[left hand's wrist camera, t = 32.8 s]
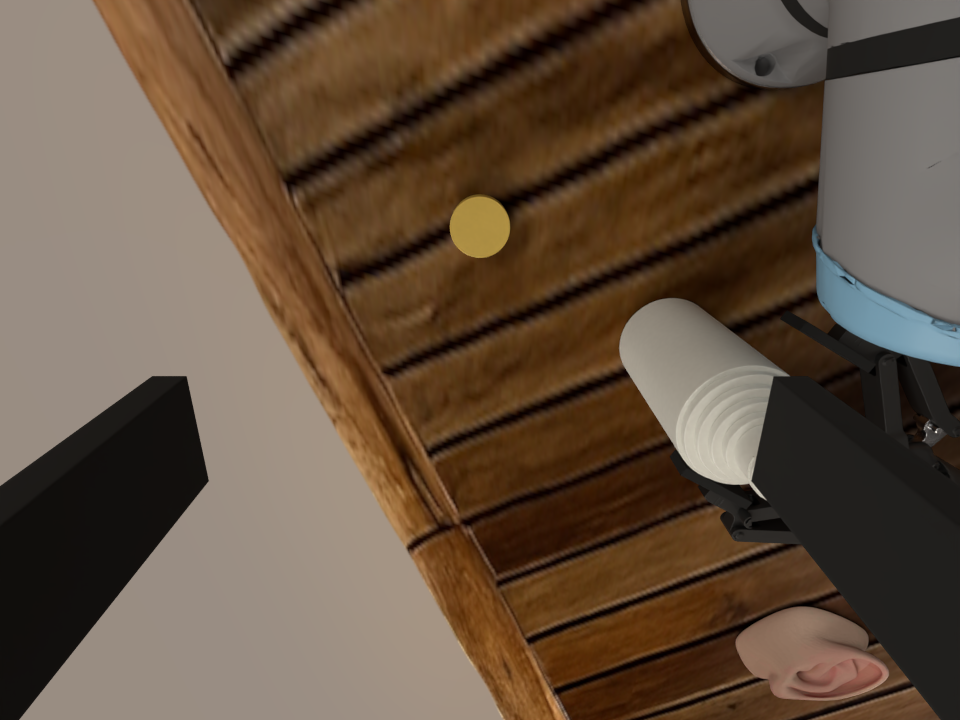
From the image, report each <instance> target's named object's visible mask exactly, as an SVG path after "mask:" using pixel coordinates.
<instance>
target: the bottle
mask: <svg viewBox="0 0 960 720" xmlns="http://www.w3.org/2000/svg"><path fill="white" fill-rule="evenodd" d="M619 348H620V356H621V360H622V363H623V365H624V367H625V368H626V370H627V372H628V373H629V375H630V376H631V378H632V379H633V381H634V383H635V384H636V386H637V387H638V389H639V391H640V392H641V394H642V395H643V397H644V398H645V400H646V402H647V403H648V405H649V406H650V408H651V409H652V411H653V413H654V414H655V416H656V417H657V419H658V420H659V422H660V424H661V425H662V427H663V428H664V430H665V431H666V433H667V435H668V436H669V438H670V439H671V441H672V442H673V444H674V446H675V447H676V449H677V450H678V452H679V454H680V455H681V457H682V458H683V460H684V461H685V462H686V464H687V465H688V466H689V467H690V468H692V469H693V470H694V471H695V472H697V473H698V474H700V475H702V476H704V477H706V478H709V479H711V480H714V481H717V482H720V483H725V484H733V485H739V484H750V485H751V487H752V488H753V489H754V491H755V492H756V493H757V494H758V495H759V496H760V497H762V498H764V496H763V495H762V494H761V493H760V491H759V490H758V489H757V488H756V486H755V485H754V484H753V483H752V481H751V480H752V475H753V470H754V466H755V461H756V456H757V452H758V447H759V442H760V437H761V433H762V428H763V423H764V419H765V414H766V409H767V405H768V400H769V395H770V390H771V386H772V381H773V376H789V375H788V374H787V373H785V372H784V371H783V370H782V369H780V368H779V367H778V366H776V365H775V364H774V363H772V362H771V361H770V360H768V359H767V358H766V357H765V356H763V355H762V354H761V353H759V352H758V351H757V350H755V349H754V348H753V347H751V346H750V345H749V344H747V343H746V342H745V341H744V340H742V339H741V338H740V337H738V336H737V335H736V334H734V333H733V332H732V331H730V330H729V329H728V328H727V327H725V326H724V325H723V324H721V323H720V322H719V321H717V320H716V319H715V318H713V317H712V316H711V315H709V314H708V313H707V312H706V311H704V310H703V309H702V308H700V307H699V306H698V305H696V304H694V303H693V302H690V301H687V300H684V299H678V298H667V299H661V300H657V301H654V302H652V303H649V304H648V305H646V306H644V307H643V308H641V309H640V310H638V311H637V312H636V313H635V314H634V315H633V316H632V317H631V318H630V320H629V321H628V323H627V324H626V326H625V328H624V330H623V332H622V335H621V339H620V347H619ZM764 499H765V498H764ZM765 500H766V499H765Z"/></svg>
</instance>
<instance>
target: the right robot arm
mask: <svg viewBox="0 0 960 720" xmlns="http://www.w3.org/2000/svg"><path fill="white" fill-rule="evenodd" d="M781 320H783V321H784V322H786V323H788V324H789V325H791V326H792V327H794V328H796V329H797V330H799V331H801V332H802V333H804V334H805V335H807V336H809V337H810V338H812V339H814V340H815V341H817V342H819V343H820V344H822V345H823V346H825V347H827V348H828V349H830V350H832V351H833V352H835V353H837V354H838V355H840V356H841V357H843V358H845V359H846V360H848V361H850V362H851V363H853V364H855V365H856V366H858V367H860V375H861V384H862V392H863V400H864V408H865V416H866V419H868V420H869V421H870V422H872V423H873V424H874V425H876V426H877V427H879V428H880V429H881V430H883V431H884V432H886V433H887V434H888V435H890V436H891V437H892V438H894V439H895V440H897V441H898V442H899V443H901V444H902V445H904V446H905V447H906V448H908V449H909V450H910V451H912V452H913V453H915V454H916V455H917V456H919V457H920V458H922V459H923V460H924V461H926V462H927V463H928V464H930V465H931V466H933V467H934V468H935V469H937V470H938V471H940V472H941V473H942V474H944V475H945V476H946V477H948V478H949V479H951V480H952V481H953V482H955V483H956V484H957V485H959V486H960V470H959V469H957V468H955V467H954V466H952V465H950V464H949V463H947V462H945V461H944V460H942V459H940V458H939V457H937V456H935V455H934V454H933V451H932V449H931V447H932V446H933V445H935V444H936V443H937V442H938V441H939V440H941V439H942V438H943V437H944V436H945V435H946V434H948V435H949V436H951V437H959V436H960V421H959V420H958V419H956V418H955V417H954V416H953V415H952V414H950V412H949V409H948V407H947V404H946V402H945V399H944V397H943V394H942V392H941V389H940V387H939V384H938V382H937V379H936V377H935V374H934V372H933V369H932V367H931V364H930V362H929V361H927V360H923V359H919V358H914V357H911V356H908V355H904V354H901V353H898V352H894V351H892V350H889V349H886V348H883V347H880V346H878V345H875V344H873V343H870V342H868V341H866V340H864V339H862V338H860V337H858V336H856V335H854V334H853V333H851V332H849V331H848V330H846V329H845V328H843V327H842V326H841V325H839V324H835V326H834V327H833V328H832V329H831V330H830V331H829V333H828V334H826V333H824V332H823V331H821V330H820V329H818V328H816V327H815V326H813V325H812V324H810V323H808V322H807V321H805V320H803V319H801V318H799V317H798V316H796V315H794V314H792V313H790V312H789V311H786V312H785V314H784V315H783V316H782V317H781ZM898 378H899V380H900V383H901V385H902V387H903V390H904V392H905V394H906V397H907V399H908V401H909V403H910V405H911V407H912V408H913V410H914V411H915V412H916V413H917V414H915V415H914V417H913V419H914V420H916V425H917V427H918V432H917V433H916V434H915V435H909V434H907V435H906V434H905V432H904V431H903V425H902V415H901V404H900V394H899V384H898ZM670 458H671V460H672V461H673V463H674V465H675V466H676V468H677V470H678V471H679V473H680V475H681V476H683V477H685V478H687V479H689V480H691V481H693V482H695V483H697V484H699V486H698V487H699V489H700V491H701V492H702V494H703V495H704V497H705V498H706V500H707V501H708V502H710V503H712V504H714V505H716V506H718V507H720V508H722V509H724V510H726V512H724V513H723V514H721V516H720V519H721V521H722V523H723V524H724V526H725V527H726V529H727V531H728V532H729V534H730V535H731V537H732V538H733V540H735V541H740V542H763V543H787V544H801V543H800V542H799V540H798V539H797V538H796V537H795V535H794V534H793V533H792V532H791V530H790V529H789V528H788V527H787V525H786V524H785V523H784V522H783V520H782V519H781V518H780V517H779V515H778V514H777V513H776V511H775V510H774V509H773V508H772V506H771V505H770V504H769V503H768V501H767V500H765V499H764V498H762V497H760V496H759V495H758V494H757V493H756V492H755V491H754V490H750V491H743V489H742V488H741V487H740V485H733V484H725V483H720V482H717V481H714V480H711V479H709V478H706V477H704V476H702V475H700V474H698V473H697V472H695V471H694V470H693V469H692V468H690V467H689V466H688V465H687V464H686V462H685V461H684V460H683V458H682V457H681V455H680V454H679V452H678V451H677V450H675V451H674V452H673V453H672V455H671V456H670Z"/></svg>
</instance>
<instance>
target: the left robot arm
mask: <svg viewBox="0 0 960 720" xmlns="http://www.w3.org/2000/svg"><path fill="white" fill-rule="evenodd" d="M681 5H682V10H683V15H684V19H685V22H686V25H687V28H688V30H689V33H690V36H691V37H692V39H693V41H694V43H695V45H696V47H697V48H698V50H699V51H700V53H701V54H702V56H703V57H704V58H705V59H706V60H707V62H708V63H709V64H710V65H711V66H712V67H714V68H715V69H716V70H717V71H718V72H720V73H721V74H722V75H724V76H725V77H727V78H729V79H730V80H732V81H734V82H736V83H739V84H741V85H744V86H747V87H751V88H756V89H763V90H782V89H789V88H795V87H801V86H806V85H810V84H814V83H817V82H820V81H822V80H825V79H830V80H825V87H824V104H823V120H822V137H821V154H820V171H819V187H818V204H817V221H816V225H815V226H814V228H813V232H812V241H813V246H814V248H815V250H816V288H817V294H818V297H819V300H820V302H821V305H822V306H823V307H824V308H825V309H826V310H827V311H828V312H829V313H830V315H831V317H832V318H833V319H834V320H835V321H836V322H837V323H838V324H839V325H841V326H842V327H843V328H845V329H846V330H848V331H849V332H851V333H853V334H854V335H856V336H858V337H860V338H862V339H864V340H866V341H868V342H870V343H873V344H875V345H878V346H880V347H883V348H886V349H889V350H892V351H894V352H898V353H901V354H904V355H908V356H911V357H914V358H919V359H923V360H927V361H931V362H936V363H941V364H946V365H952V366H958V367H960V0H681ZM899 66H900V67H899ZM893 67H894V68H893ZM888 68H889V69H888ZM882 69H884V70H882ZM876 70H878V71H876ZM871 71H873V72H871ZM865 72H867V73H865ZM859 73H862V74H859ZM854 74H856V75H854ZM849 75H851V76H849ZM844 76H846V77H844ZM208 481H209V480H208V475H207V470H206V466H205V461H204V456H203V452H202V447H201V442H200V438H199V433H198V428H197V424H196V419H195V414H194V409H193V405H192V400H191V395H190V391H189V386H188V381H187V377H186V376H152V377H151V378H149V379H148V380H146V381H145V382H144V383H142V384H141V385H140V386H138V387H137V388H135V389H134V390H133V391H131V392H130V393H128V394H127V395H126V396H124V397H123V398H122V399H120V400H119V401H117V402H116V403H115V404H113V405H112V406H110V407H109V408H108V409H106V410H105V411H104V412H102V413H101V414H99V415H98V416H97V417H95V418H94V419H92V420H91V421H90V422H88V423H87V424H86V425H84V426H83V427H81V428H80V429H79V430H77V431H76V432H74V433H73V434H72V435H70V436H69V437H68V438H66V439H65V440H63V441H62V442H61V443H59V444H58V445H56V446H55V447H54V448H52V449H51V450H50V451H48V452H47V453H45V454H44V455H43V456H41V457H40V458H38V459H37V460H36V461H34V462H33V463H32V464H30V465H29V466H27V467H26V468H25V469H23V470H22V471H20V472H19V473H18V474H16V475H15V476H14V477H12V478H11V479H9V480H8V481H7V482H5V483H4V484H3V485H1V486H0V720H19V719H20V718H21V717H22V715H23V714H24V713H25V712H26V710H27V709H28V708H29V707H30V705H31V704H32V703H33V702H34V700H35V699H36V698H37V697H38V695H39V694H40V693H41V692H42V690H43V689H44V688H45V686H46V685H47V684H48V683H49V681H50V680H51V679H52V678H53V676H54V675H55V674H56V673H57V671H58V670H59V669H60V668H61V666H62V665H63V664H64V663H65V661H66V660H67V659H68V658H69V656H70V655H71V654H72V652H73V651H74V650H75V649H76V647H77V646H78V645H79V644H80V642H81V641H82V640H83V639H84V637H85V636H86V635H87V634H88V632H89V631H90V630H91V628H92V627H93V626H94V625H95V624H96V622H97V621H98V620H99V618H100V617H101V616H102V615H103V613H104V612H105V611H106V610H107V608H108V607H109V606H110V605H111V603H112V602H113V601H114V600H115V598H116V597H117V596H118V595H119V593H120V592H121V591H122V590H123V588H124V587H125V586H126V585H127V583H128V582H129V581H130V579H131V578H132V577H133V576H134V574H135V573H136V572H137V571H138V569H139V568H140V567H141V566H142V564H143V563H144V562H145V561H146V559H147V558H148V557H149V555H150V554H151V553H152V552H153V551H154V549H155V548H156V547H157V545H158V544H159V543H160V542H161V540H162V539H163V538H164V537H165V535H166V534H167V533H168V532H169V530H170V529H171V528H172V527H173V525H174V524H175V523H176V522H177V520H178V519H179V518H180V516H181V515H182V514H183V513H184V511H185V510H186V509H187V508H188V506H189V505H190V504H191V503H192V501H193V500H194V499H195V497H196V496H197V495H198V494H199V493H200V491H201V490H202V489H203V488H204V486H205V485H206V484H207V482H208ZM751 481H752V483H753V484H754V485H755V486H756V488H757V489H758V490H759V491H760V493H761V494H762V495H763V496H764V498H765V499H766V500H767V501H768V503H769V504H770V505H771V506H772V508H773V509H774V510H775V511H776V513H777V514H778V515H779V517H780V518H781V519H782V520H783V522H784V523H785V524H786V525H787V527H788V528H789V529H790V530H791V532H792V533H793V534H794V535H795V537H796V538H797V539H798V540H799V542H800V543H801V544H802V545H803V547H804V548H805V549H806V551H807V552H808V553H809V554H810V556H811V557H812V558H813V559H814V561H815V562H816V563H817V564H818V566H819V567H820V568H821V569H822V571H823V572H824V573H825V574H826V576H827V577H828V578H829V579H830V581H831V582H832V583H833V585H834V586H835V587H836V588H837V590H838V591H839V592H840V593H841V595H842V596H843V597H844V598H845V600H846V601H847V602H848V603H849V605H850V606H851V607H852V608H853V610H854V611H855V612H856V613H857V615H858V616H859V617H860V619H861V620H862V621H863V622H864V624H865V625H866V626H867V627H868V629H869V630H870V631H871V632H872V634H873V635H874V636H875V637H876V639H877V640H878V641H879V642H880V644H881V645H882V646H883V647H884V649H885V650H886V651H887V652H888V654H889V655H890V656H891V658H892V659H893V660H894V661H895V663H896V664H897V665H898V666H899V668H900V669H901V670H902V671H903V673H904V674H905V675H906V676H907V678H908V679H909V680H910V681H911V683H912V684H913V685H914V686H915V688H916V689H917V690H918V692H919V693H920V694H921V695H922V697H923V698H924V699H925V700H926V702H927V703H928V704H929V705H930V707H931V708H932V709H933V710H934V712H935V713H936V714H937V715H938V717H939V718H940V719H941V720H960V486H959V485H957V484H956V483H955V482H953V481H952V480H951V479H949V478H948V477H946V476H945V475H944V474H942V473H941V472H940V471H938V470H937V469H935V468H934V467H933V466H931V465H930V464H928V463H927V462H926V461H924V460H923V459H922V458H920V457H919V456H917V455H916V454H915V453H913V452H912V451H910V450H909V449H908V448H906V447H905V446H904V445H902V444H901V443H899V442H898V441H897V440H895V439H894V438H892V437H891V436H890V435H888V434H887V433H886V432H884V431H883V430H881V429H880V428H879V427H877V426H876V425H874V424H873V423H872V422H870V421H869V420H868V419H866V418H865V417H863V416H862V415H861V414H859V413H858V412H856V411H855V410H854V409H852V408H851V407H850V406H848V405H847V404H845V403H844V402H843V401H841V400H840V399H838V398H837V397H836V396H834V395H833V394H832V393H830V392H829V391H827V390H826V389H825V388H823V387H822V386H821V385H819V384H818V383H816V382H815V381H814V380H812V379H811V378H809V377H808V376H773V381H772V386H771V390H770V395H769V400H768V405H767V409H766V414H765V419H764V423H763V428H762V433H761V437H760V442H759V447H758V452H757V456H756V461H755V466H754V470H753V475H752V480H751Z"/></svg>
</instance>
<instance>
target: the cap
mask: <svg viewBox="0 0 960 720" xmlns="http://www.w3.org/2000/svg"><path fill="white" fill-rule="evenodd" d="M450 233H451V237H452V239H453V241H454V243H455V245H456V246H457V247H458V248H459V249H460V250H461V251H462V252H463V253H465V254H467V255H469V256H472V257H476V258H484V257H488V256H491V255H494V254H495V253H497V252H498V251H499V250H501V249H502V248H503V246H504V245H505V244H506V242H507V240H508V237H509V234H510V220H509V217H508V214H507V212H506V210H505V208H504V206H503V205H502V204H501V203H500V202H499V201H498V200H496V199H495V198H493V197H491V196H488V195H483V194H477V195H472V196H469V197H467V198H465V199H464V200H462V201H461V202H460V203H459V204H458V205H457V207H456V208H455V210H454V212H453V215H452V218H451V222H450Z"/></svg>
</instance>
